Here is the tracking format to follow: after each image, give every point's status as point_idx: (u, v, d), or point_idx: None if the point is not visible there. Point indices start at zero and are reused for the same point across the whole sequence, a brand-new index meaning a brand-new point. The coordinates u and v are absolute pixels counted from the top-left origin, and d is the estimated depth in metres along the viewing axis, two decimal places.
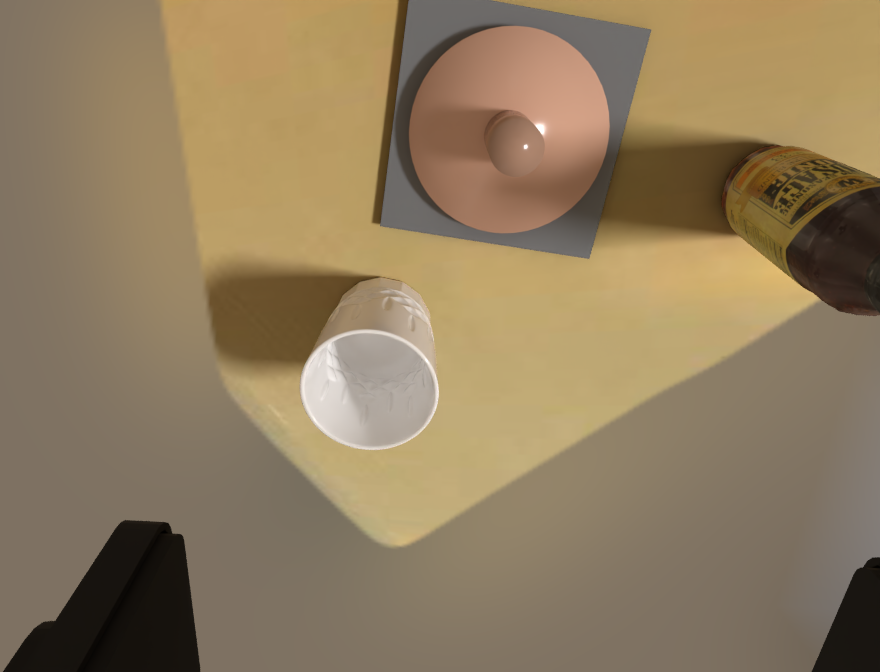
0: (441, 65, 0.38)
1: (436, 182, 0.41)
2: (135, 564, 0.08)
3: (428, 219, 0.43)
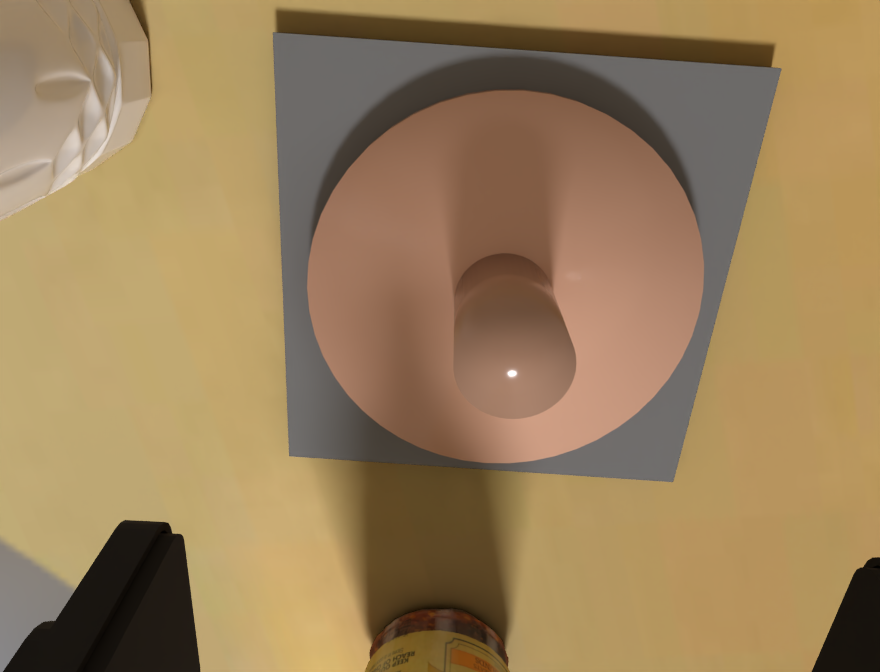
0: (637, 152, 0.18)
1: (396, 163, 0.18)
2: (135, 564, 0.08)
3: (309, 148, 0.19)
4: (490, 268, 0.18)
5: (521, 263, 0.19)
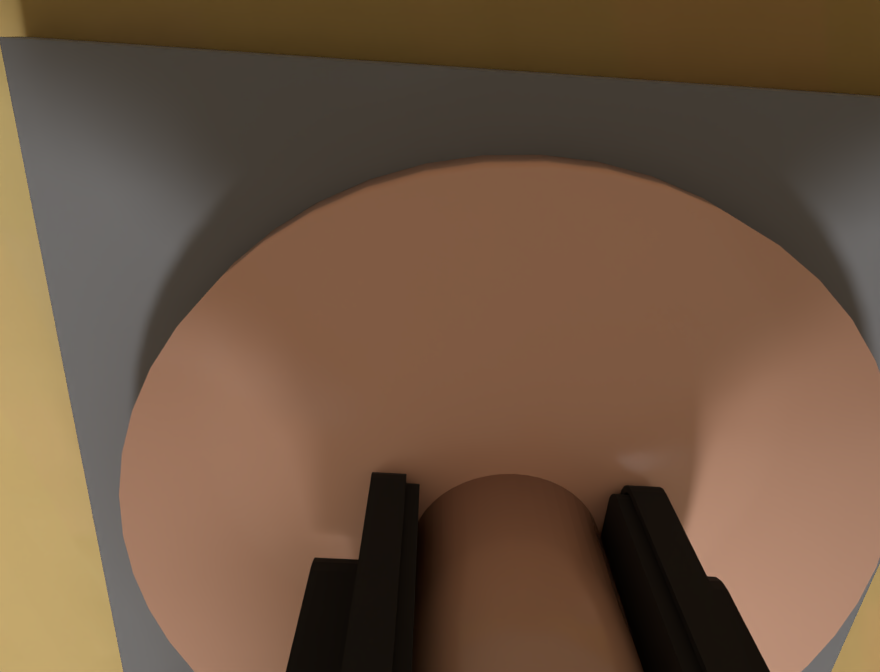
0: (785, 287, 0.09)
1: (278, 314, 0.09)
2: (400, 506, 0.09)
3: (109, 271, 0.10)
4: (480, 531, 0.09)
5: (543, 509, 0.09)
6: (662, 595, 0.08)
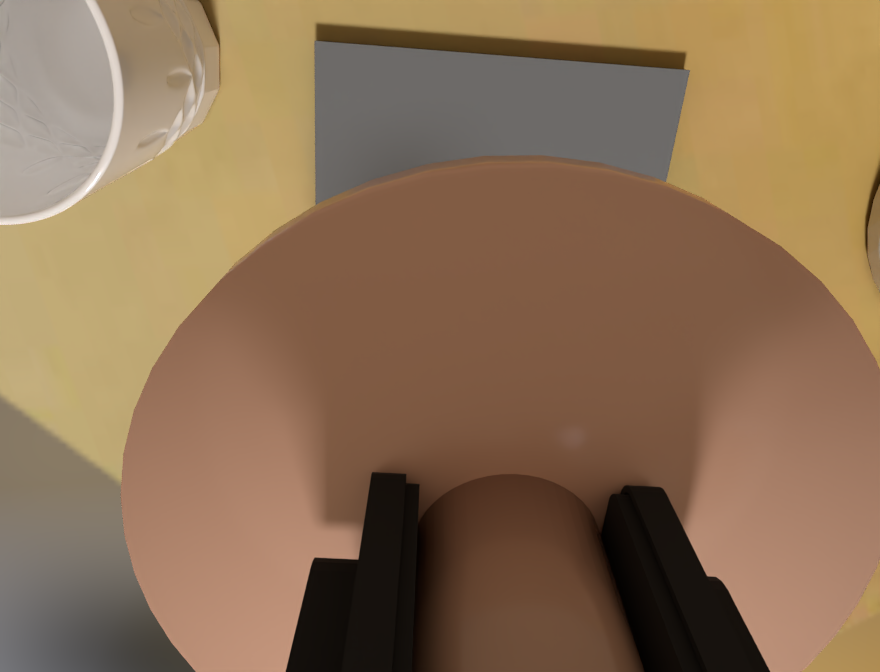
0: (786, 288, 0.09)
1: (279, 314, 0.09)
2: (400, 506, 0.09)
3: (339, 128, 0.26)
4: (481, 531, 0.09)
5: (544, 509, 0.09)
6: (662, 595, 0.08)
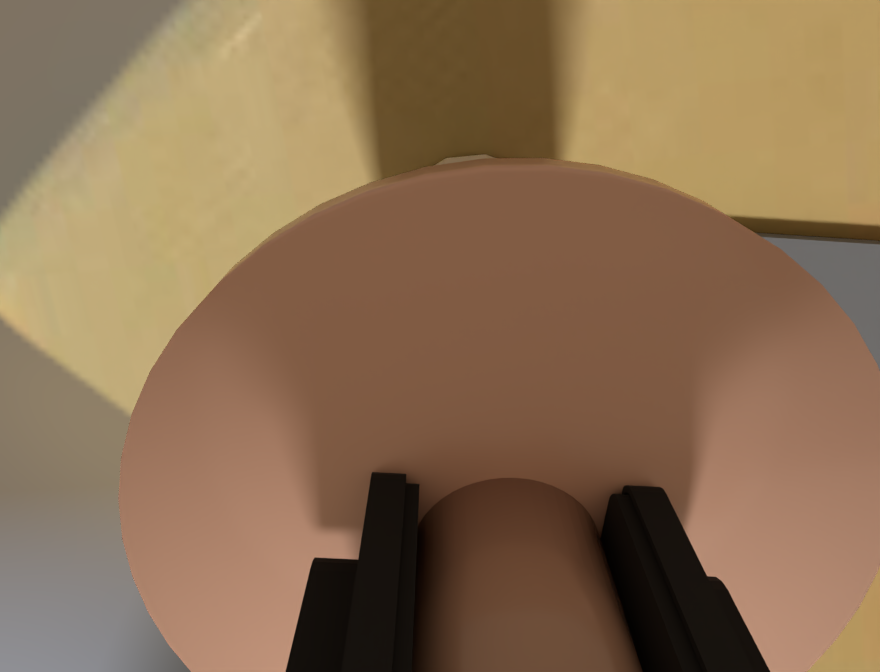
0: (787, 292, 0.09)
1: (278, 318, 0.09)
2: (400, 506, 0.09)
3: None
4: (480, 535, 0.09)
5: (544, 514, 0.09)
6: (662, 595, 0.08)
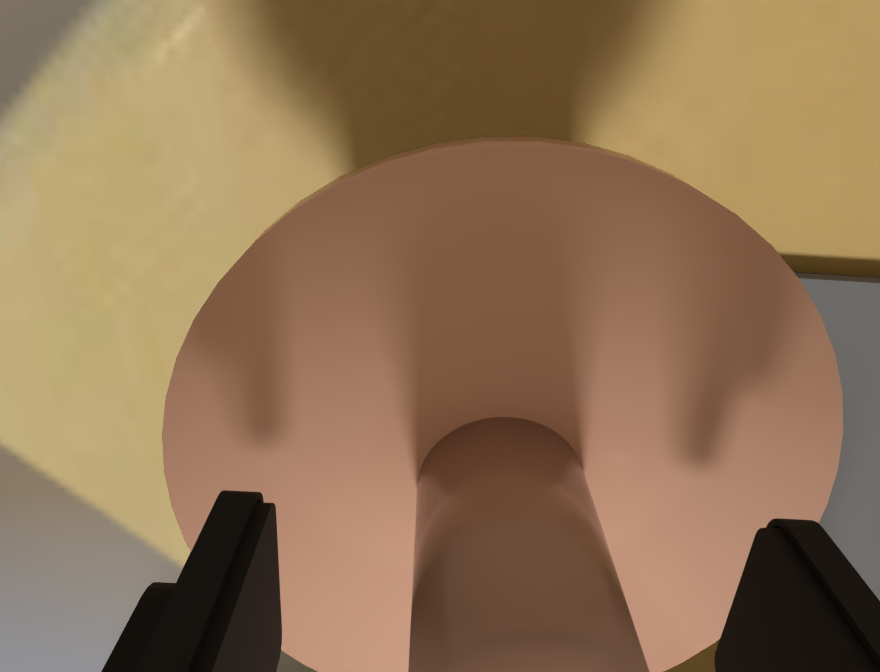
0: (742, 252, 0.10)
1: (305, 272, 0.10)
2: (241, 528, 0.08)
3: None
4: (479, 460, 0.10)
5: (533, 444, 0.11)
6: (852, 644, 0.07)
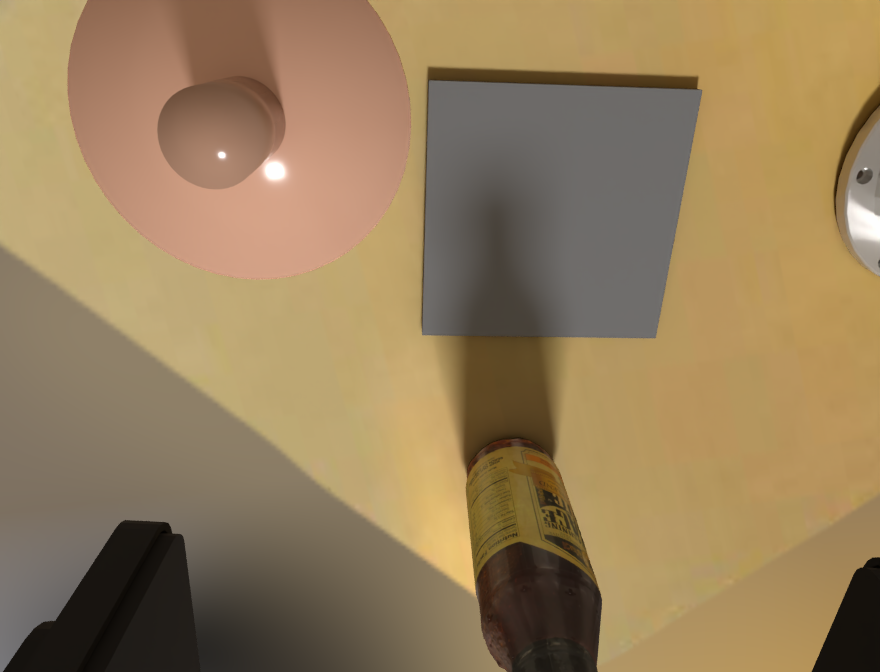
0: None
1: None
2: (135, 564, 0.08)
3: (445, 143, 0.34)
4: None
5: (244, 79, 0.22)
6: None
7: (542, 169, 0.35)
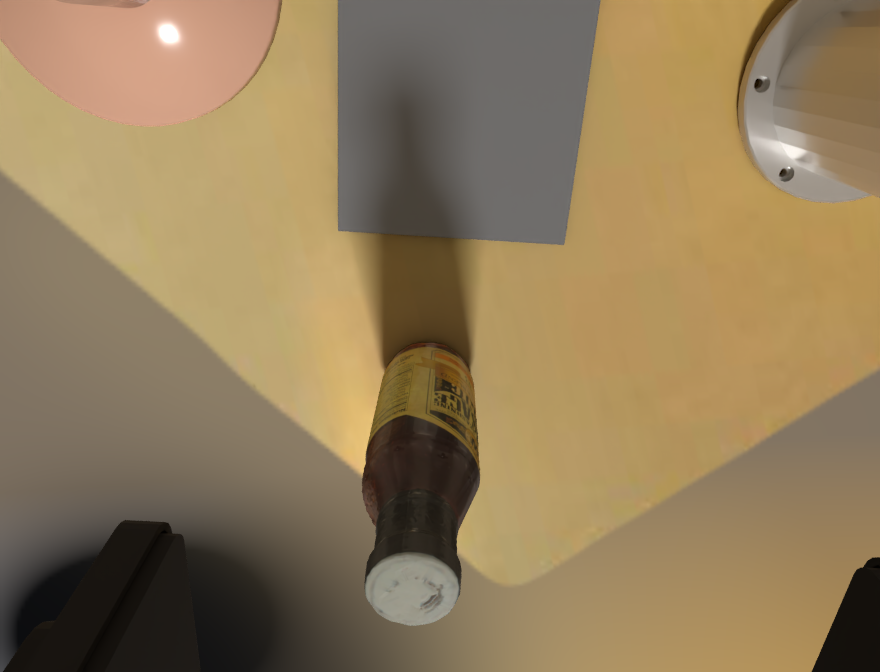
0: None
1: None
2: (135, 564, 0.08)
3: (355, 36, 0.36)
4: None
5: None
6: None
7: (449, 66, 0.37)
